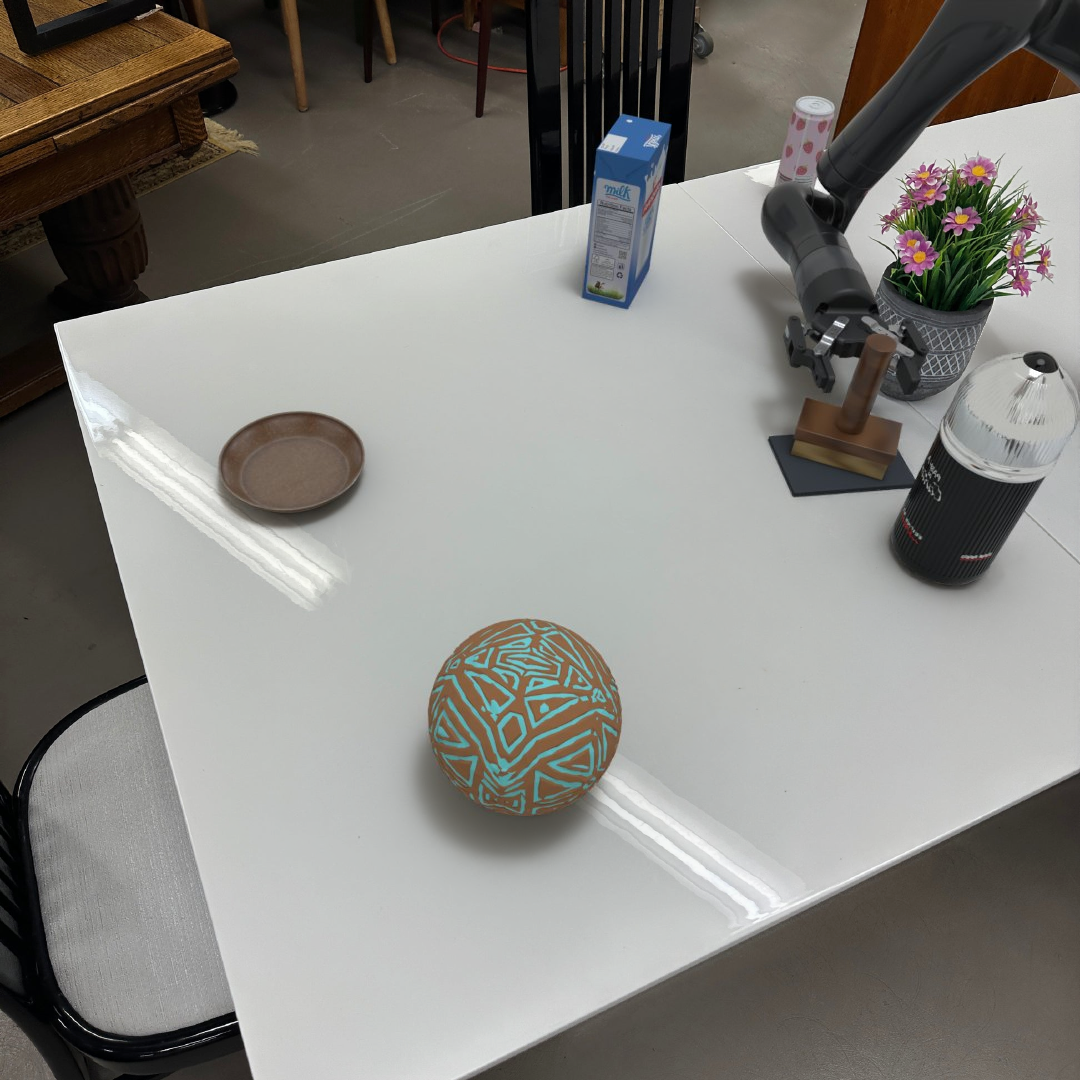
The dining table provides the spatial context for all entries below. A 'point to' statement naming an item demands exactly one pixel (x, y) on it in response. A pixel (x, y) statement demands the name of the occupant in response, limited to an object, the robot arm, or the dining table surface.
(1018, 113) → the dining table surface
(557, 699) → the decorative sphere
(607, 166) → the milk carton
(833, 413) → the brush
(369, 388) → the dining table surface
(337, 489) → the saucer
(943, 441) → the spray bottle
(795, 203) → the robot arm
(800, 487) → the mat
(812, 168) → the beverage can
